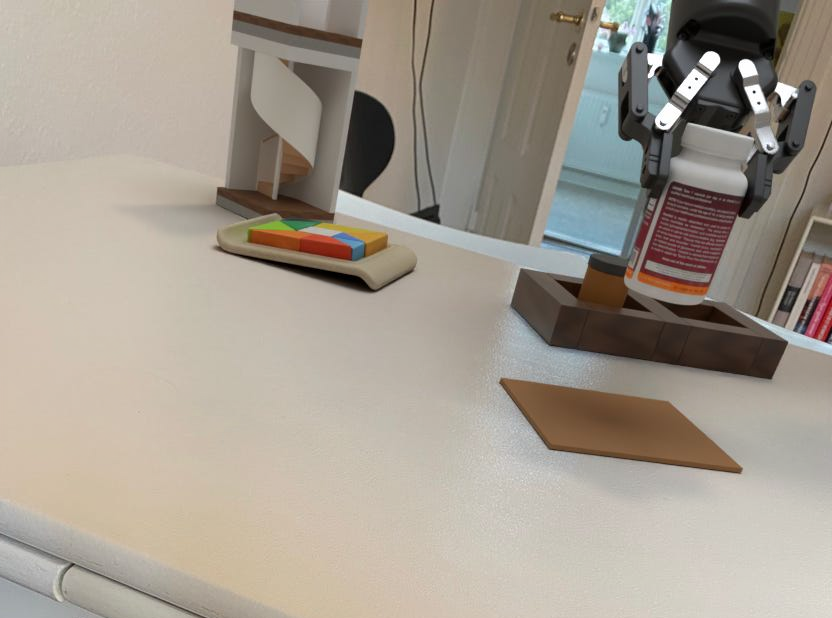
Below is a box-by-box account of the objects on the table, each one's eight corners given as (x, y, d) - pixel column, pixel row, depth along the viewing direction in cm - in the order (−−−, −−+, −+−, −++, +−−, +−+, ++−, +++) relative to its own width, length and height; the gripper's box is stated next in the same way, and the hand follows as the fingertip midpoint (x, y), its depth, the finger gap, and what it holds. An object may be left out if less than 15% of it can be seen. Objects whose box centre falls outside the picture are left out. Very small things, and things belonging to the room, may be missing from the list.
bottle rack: (711, 336, 108) (725, 302, 106) (772, 379, 96) (789, 341, 94) (510, 304, 102) (520, 267, 100) (549, 345, 91) (561, 304, 89)
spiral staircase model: (215, 203, 118) (247, -142, 99) (280, 207, 125) (322, -117, 105) (266, 227, 112) (311, -137, 92) (332, 229, 119) (386, -110, 99)
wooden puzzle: (275, 229, 112) (279, 199, 110) (418, 269, 109) (424, 238, 107) (210, 248, 98) (213, 213, 96) (372, 294, 94) (379, 259, 93)
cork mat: (666, 405, 81) (668, 401, 81) (741, 473, 70) (743, 468, 70) (499, 381, 78) (500, 377, 78) (549, 448, 67) (551, 443, 66)
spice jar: (602, 329, 101) (626, 258, 96) (619, 343, 97) (645, 270, 92) (561, 322, 100) (583, 250, 95) (576, 337, 96) (600, 262, 91)
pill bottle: (719, 310, 68) (786, 145, 61) (659, 305, 65) (723, 132, 59) (663, 284, 72) (720, 128, 66) (604, 279, 69) (658, 115, 63)
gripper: (790, 62, 70) (772, 254, 67) (611, 21, 69) (584, 213, 66) (851, -24, 63) (834, 187, 60) (651, -71, 62) (624, 140, 59)
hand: (703, 200), depth 63 cm, fingers closed on pill bottle, 6 cm apart
